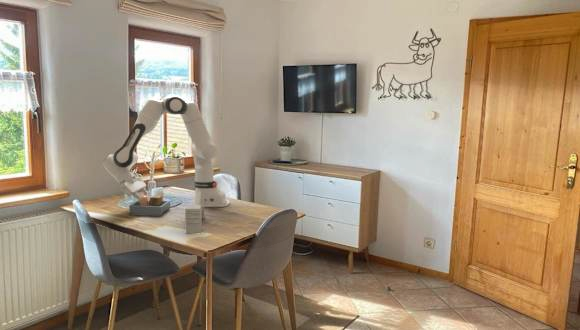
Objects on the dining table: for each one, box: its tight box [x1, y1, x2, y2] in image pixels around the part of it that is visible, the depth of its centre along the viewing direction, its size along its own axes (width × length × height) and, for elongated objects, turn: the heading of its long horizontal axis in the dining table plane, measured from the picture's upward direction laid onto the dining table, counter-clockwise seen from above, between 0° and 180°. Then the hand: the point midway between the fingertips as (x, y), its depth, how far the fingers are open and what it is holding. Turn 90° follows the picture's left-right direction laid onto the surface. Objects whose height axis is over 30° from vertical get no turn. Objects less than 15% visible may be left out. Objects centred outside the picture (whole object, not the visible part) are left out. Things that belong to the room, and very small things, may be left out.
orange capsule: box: [139, 194, 150, 206], centre depth 251 cm, size 5×5×8 cm
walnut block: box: [149, 195, 163, 207], centre depth 250 cm, size 5×5×8 cm
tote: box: [129, 199, 171, 217], centre depth 251 cm, size 18×14×5 cm
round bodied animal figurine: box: [195, 204, 206, 220], centre depth 237 cm, size 7×12×8 cm, turn 138°
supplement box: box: [184, 204, 203, 234], centre depth 218 cm, size 7×7×13 cm
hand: (144, 196), depth 250 cm, fingers open, 8 cm apart
